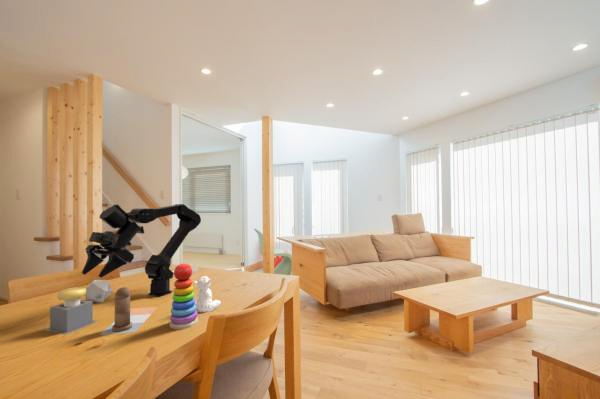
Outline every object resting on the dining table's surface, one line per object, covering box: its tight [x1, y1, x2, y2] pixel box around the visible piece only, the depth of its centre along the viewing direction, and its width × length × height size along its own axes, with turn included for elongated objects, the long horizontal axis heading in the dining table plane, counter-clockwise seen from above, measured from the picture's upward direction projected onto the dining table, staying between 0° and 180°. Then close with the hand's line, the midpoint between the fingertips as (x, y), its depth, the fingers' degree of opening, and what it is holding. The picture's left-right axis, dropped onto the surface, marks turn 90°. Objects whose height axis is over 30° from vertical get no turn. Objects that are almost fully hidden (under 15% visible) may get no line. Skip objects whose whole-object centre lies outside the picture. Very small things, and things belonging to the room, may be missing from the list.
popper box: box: [44, 299, 99, 335], centre depth 81 cm, size 9×9×7 cm
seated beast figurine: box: [193, 275, 222, 313], centre depth 95 cm, size 10×9×12 cm
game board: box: [98, 306, 158, 336], centre depth 85 cm, size 20×9×1 cm, turn 10°
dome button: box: [57, 286, 87, 308], centre depth 81 cm, size 6×6×7 cm
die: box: [84, 279, 114, 304], centre depth 104 cm, size 8×9×10 cm
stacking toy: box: [168, 263, 199, 330], centre depth 83 cm, size 8×8×19 cm
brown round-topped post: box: [112, 286, 132, 332], centre depth 79 cm, size 5×5×12 cm
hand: (91, 275), depth 89 cm, fingers open, 9 cm apart
